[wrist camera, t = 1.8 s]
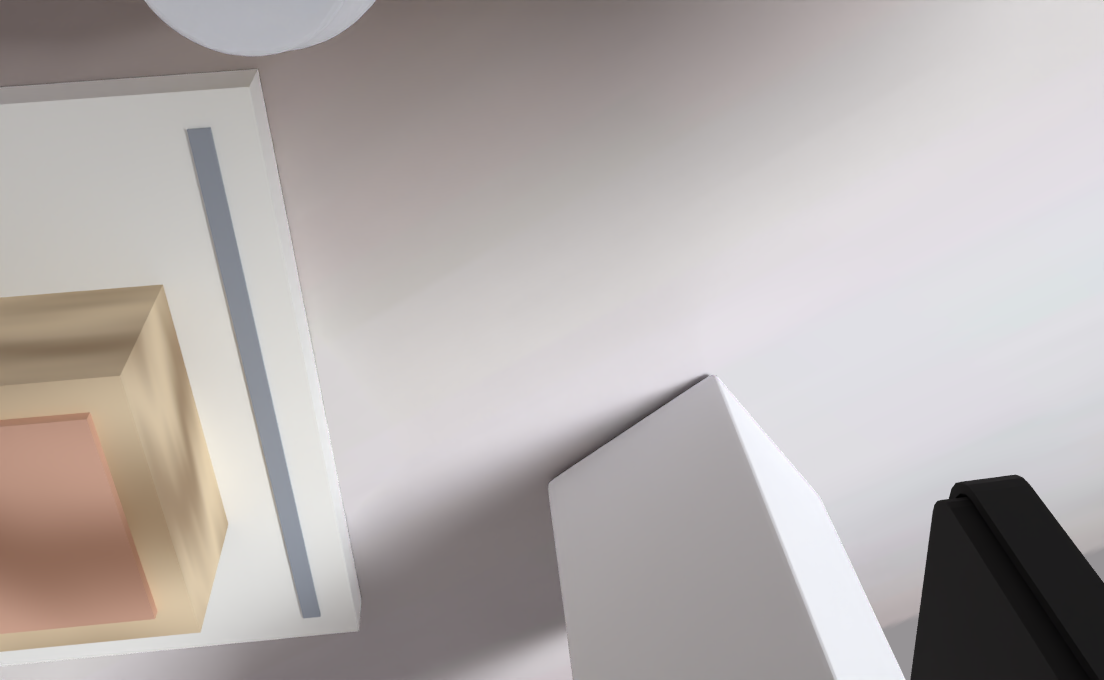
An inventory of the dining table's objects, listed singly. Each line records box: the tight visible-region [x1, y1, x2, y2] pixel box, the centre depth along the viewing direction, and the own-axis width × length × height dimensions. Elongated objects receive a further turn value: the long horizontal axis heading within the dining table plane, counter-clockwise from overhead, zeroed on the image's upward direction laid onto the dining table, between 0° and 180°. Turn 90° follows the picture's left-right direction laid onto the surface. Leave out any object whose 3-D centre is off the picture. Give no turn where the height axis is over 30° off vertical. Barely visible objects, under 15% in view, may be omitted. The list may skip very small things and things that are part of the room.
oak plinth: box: [0, 284, 228, 652], centre depth 30 cm, size 9×9×5 cm
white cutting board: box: [0, 69, 362, 666], centre depth 33 cm, size 20×16×2 cm
